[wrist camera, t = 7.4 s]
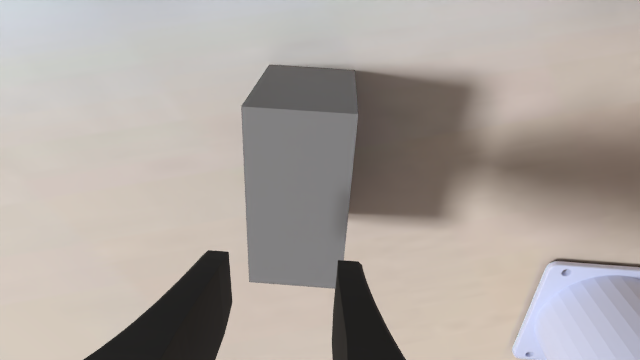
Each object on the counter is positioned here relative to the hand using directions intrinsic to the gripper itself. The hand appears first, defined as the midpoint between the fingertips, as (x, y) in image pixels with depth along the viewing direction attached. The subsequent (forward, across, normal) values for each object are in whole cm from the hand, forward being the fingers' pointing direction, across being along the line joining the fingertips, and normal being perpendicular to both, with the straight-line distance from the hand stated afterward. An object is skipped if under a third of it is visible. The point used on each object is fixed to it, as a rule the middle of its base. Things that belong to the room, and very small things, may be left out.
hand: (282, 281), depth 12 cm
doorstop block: (+10, 0, 0) cm, 10 cm away
